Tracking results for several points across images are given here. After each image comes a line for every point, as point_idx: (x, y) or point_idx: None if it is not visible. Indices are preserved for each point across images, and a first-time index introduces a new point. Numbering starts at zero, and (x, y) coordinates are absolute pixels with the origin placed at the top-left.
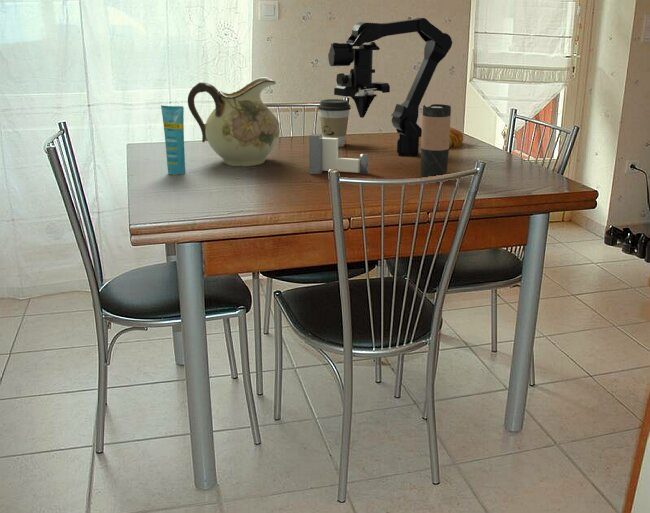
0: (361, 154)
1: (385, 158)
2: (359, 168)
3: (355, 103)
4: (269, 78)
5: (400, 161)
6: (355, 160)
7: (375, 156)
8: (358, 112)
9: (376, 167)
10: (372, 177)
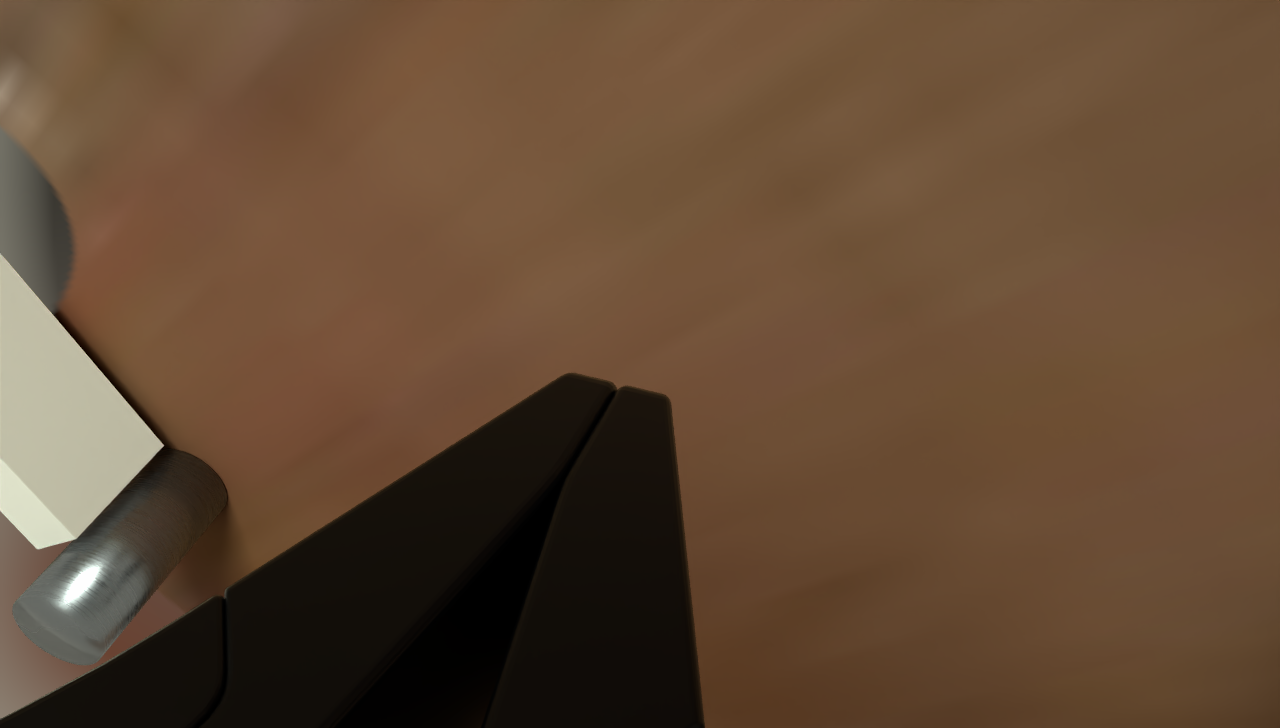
0: (31, 609)
1: (1024, 315)
2: (138, 468)
3: (25, 719)
4: None
5: (957, 543)
6: (19, 518)
7: (1086, 104)
8: (445, 457)
9: None
10: (173, 585)
